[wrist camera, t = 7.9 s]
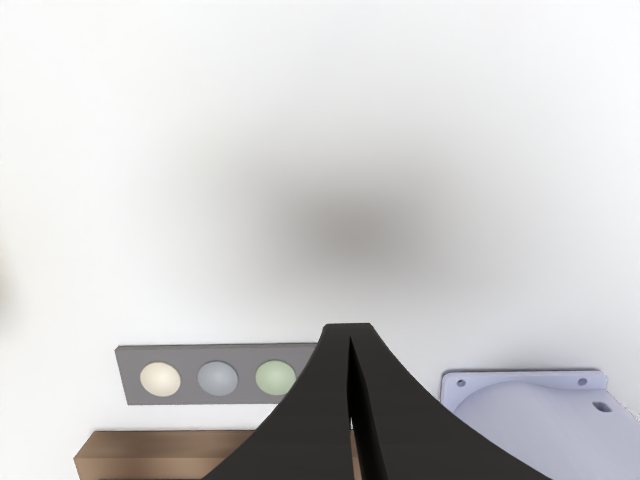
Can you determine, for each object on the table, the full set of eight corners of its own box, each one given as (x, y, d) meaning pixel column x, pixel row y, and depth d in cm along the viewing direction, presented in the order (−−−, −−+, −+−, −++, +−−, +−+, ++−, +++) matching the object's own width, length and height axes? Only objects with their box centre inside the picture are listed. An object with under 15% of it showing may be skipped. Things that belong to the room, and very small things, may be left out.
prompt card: (316, 343, 21) (316, 349, 21) (318, 398, 22) (318, 405, 22) (118, 346, 22) (112, 352, 21) (131, 400, 23) (126, 407, 22)
